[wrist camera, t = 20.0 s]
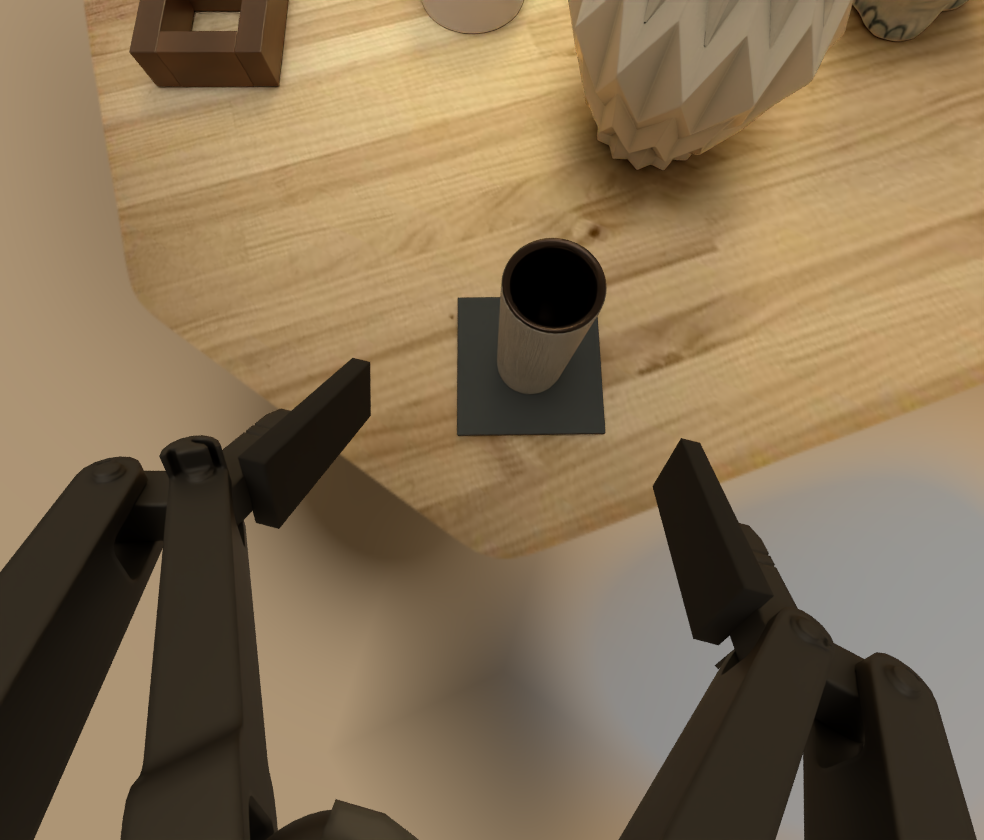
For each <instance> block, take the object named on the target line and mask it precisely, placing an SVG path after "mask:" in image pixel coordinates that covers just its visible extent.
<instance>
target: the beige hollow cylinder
mask: <svg viewBox="0 0 984 840" xmlns="http://www.w3.org/2000/svg"><path fill="white" fill-rule="evenodd" d="M605 297H606V279H605V275H604V272H603V270H602V267H601V266H600V264H599V262H598V261H597V259H596V258H595V257H594V256H593V255H592V254H591V253H590V252H589V251H588V250H587V249H585V248H584V247H582V246H581V245H579V244H577V243H574V242H572V241H569V240H565V239H559V238H545V239H540V240H536V241H533V242H531V243H529V244H527V245H525V246H523V247H522V248H520V249H519V250H518V251H517V252H516V253H515V254H514V255H513V256H512V257H511V258H510V260H509V261H508V263H507V265H506V267H505V269H504V272H503V276H502V282H501V297H500V315H499V332H498V350H497V367H498V371H499V374H500V376H501V378H502V380H503V381H504V382H505V384H506V385H507V386H509V387H510V388H511V389H513V390H515V391H517V392H519V393H523V394H537V393H541V392H543V391H545V390H547V389H549V388H550V387H551V386H552V385H553V384H554V383H555V382H556V381H557V380H558V378H559V377H560V375H561V374H562V372H563V370H564V369H565V367H566V366H567V364H568V362H569V361H570V359H571V357H572V356H573V354H574V353H575V351H576V349H577V348H578V346H579V345H580V343H581V341H582V340H583V338H584V336H585V335H586V333H587V332H588V330H589V328H590V327H591V325H592V324H593V322H594V320H595V319H596V317H597V315H598V314H599V312H600V310H601V308H602V306H603V304H604V301H605Z"/></svg>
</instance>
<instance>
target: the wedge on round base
mask: <svg viewBox="0 0 984 840" xmlns="http://www.w3.org/2000/svg"><path fill="white" fill-rule="evenodd" d="M422 3H423V6H424V8H425V10H426V12H427V13H428V14H429V15H430V17H431V18H432V19H433V20H435V21H436V22H437V23H439V24H440V25H442V26H444V27H445V28H448V29H450V30H453V31H457V32H462V33H483V32H488V31H492V30H495V29H497V28H500V27H502V26H503V25H505V24H507V23H508V22H509V21H511V20H512V19H513V18H514V17H515V16H516V14H517V13H518V12H519V10H520V8H521V6H522V3H523V0H422Z"/></svg>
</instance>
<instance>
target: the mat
mask: <svg viewBox="0 0 984 840" xmlns="http://www.w3.org/2000/svg"><path fill="white" fill-rule="evenodd" d="M499 315H500V297H476V298H458V377H457V435H458V436H466V435H554V434H604V433H605V419H604V405H603V390H602V376H601V361H600V346H599V332H598V317H596V319H595V320H594V322H593V324H592V325H591V327H590V328H589V330H588V332H587V333H586V335H585V336H584V338H583V340H582V341H581V343H580V345H579V346H578V348H577V349H576V351H575V353H574V354H573V356H572V357H571V359H570V361H569V362H568V364H567V366H566V367H565V369H564V370H563V372H562V374H561V375H560V377H559V378H558V380H557V381H556V382H555V383H554V384H553V385H552V386H551V387H550V388H549V389H547V390H545V391H543V392H541V393H537V394H523V393H519V392H517V391H515V390H513V389H511V388H510V387H509V386H507V385H506V384H505V382H504V381H503V380H502V378H501V376H500V374H499V371H498V367H497V350H498V332H499Z"/></svg>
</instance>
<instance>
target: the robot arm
mask: <svg viewBox="0 0 984 840" xmlns="http://www.w3.org/2000/svg"><path fill="white" fill-rule="evenodd" d="M370 416H371V400H370V362H367V361H363V360H359V359H355V358H352V359H351V360H350V361H348V362H347V363H346V364H345V365H344V366H343V367H342V368H340V369H339V370H338V371H337V372H336V373H335V374H333V375H332V376H331V377H330V378H329V379H328V380H326V381H325V382H324V383H323V384H322V385H321V386H320V387H318V388H317V389H316V390H315V391H314V392H313V393H311V394H310V395H309V396H308V397H307V398H306V399H305V400H303V401H302V402H301V403H300V404H299V405H298V406H296V407H295V408H294V409H293V410H292V411H289V410H285V409H279V410H276V411H274V412H272V413H269V414H267V415H265V416H264V417H263V418H261V419H260V420H259V421H258V422H256V423H255V425H254V426H251V427H250V428H249V429H248V430H247V431H246V433H243V434H242V435H240V436H239V437H238V438H237V439H235V440H234V441H233V442H232V443H230V444H229V445H228V446H227V447H225V448H224V449H223V450H222V448H221V445H220V443H219V441H218V440H216V439H214V438H213V437H209V436H203V435H201V436H190V437H186V438H182V439H179V440H177V441H175V442H172V443H170V444H169V445H168V446H166V447H165V448H164V449H163V450H162V452H161V454H160V459H161V461H162V463H163V466H164V468H165V470H166V471H144V470H143V468H142V466H141V464H140V463H139V461H138V460H136V459H134V458H131V457H113V458H107V459H104V460H101V461H98V462H95V463H93V464H91V465H89V466H87V467H85V468H83V469H82V470H81V471H80V472H79V473H78V474H77V475H76V476H75V477H74V479H73V480H72V481H71V482H70V484H69V485H68V486H67V488H66V489H65V490H64V491H63V493H62V494H61V495H60V496H59V498H58V499H57V500H56V502H55V503H54V504H53V505H52V507H51V508H50V509H49V511H48V512H47V513H46V514H45V516H44V517H43V518H42V519H41V521H40V522H39V523H38V525H37V526H36V528H35V529H34V530H33V531H32V532H31V534H30V535H29V536H28V538H27V539H26V540H25V541H24V543H23V544H22V545H21V546H20V548H19V549H18V550H17V551H16V553H15V554H14V555H13V557H12V558H11V559H10V560H9V562H8V563H7V564H6V566H5V567H4V568H3V569H2V571H1V572H0V840H34V838H35V835H36V833H37V831H38V829H39V826H40V824H41V822H42V819H43V817H44V815H45V813H46V810H47V808H48V806H49V804H50V802H51V799H52V797H53V795H54V792H55V790H56V788H57V786H58V783H59V781H60V779H61V777H62V774H63V772H64V770H65V768H66V765H67V763H68V761H69V759H70V756H71V754H72V752H73V750H74V747H75V745H76V743H77V741H78V738H79V736H80V734H81V731H82V729H83V727H84V725H85V722H86V720H87V718H88V716H89V713H90V711H91V709H92V707H93V704H94V702H95V700H96V697H97V695H98V693H99V691H100V689H101V686H102V684H103V682H104V680H105V677H106V675H107V673H108V670H109V668H110V666H111V664H112V661H113V659H114V657H115V655H116V652H117V650H118V648H119V646H120V643H121V641H122V639H123V636H124V634H125V632H126V630H127V628H128V625H129V623H130V621H131V619H132V616H133V614H134V611H135V609H136V607H137V605H138V603H139V600H140V598H141V596H142V594H143V591H144V589H145V587H146V585H147V582H148V580H149V578H150V575H151V573H152V571H153V569H154V567H155V564H156V562H157V560H158V558H159V555H160V553H161V551H162V549H163V552H162V564H161V574H160V585H159V597H158V609H157V619H156V629H155V640H154V651H153V663H152V673H151V684H150V695H149V706H148V718H147V728H146V739H145V751H144V761H143V766H142V771H141V774H140V776H139V778H138V779H137V780H136V781H135V782H134V784H133V785H132V786H131V788H130V791H129V794H128V797H127V799H126V804H125V810H124V815H123V822H122V831H121V840H418V839H417V838H416V837H415V836H413V835H412V834H411V833H409V832H408V831H407V830H406V829H404V828H403V827H402V826H400V825H399V824H398V823H396V822H395V821H394V820H392V819H391V818H390V817H389V816H387V815H386V814H384V813H381V812H378V811H374V810H371V809H367V808H364V807H361V806H357V805H354V804H350V803H347V802H344V801H340V800H337V799H336V800H335V803H334V805H333V808H332V810H326V811H320V812H317V813H314V814H310V815H307V816H305V817H302V818H300V819H298V820H295V821H293V822H291V823H290V824H288V825H286V826H285V827H283V828H281V829H280V830H278V828H277V818H276V808H275V799H274V793H273V787H272V782H271V777H270V773H269V767H268V760H267V750H266V739H265V728H264V718H263V707H262V697H261V686H260V675H259V665H258V655H257V644H256V633H255V623H254V612H253V601H252V590H251V581H250V570H249V559H248V548H247V538H246V527H245V523H244V519H245V518H246V517H247V516H248V515H249V514H250V513H251V512H252V511H253V514H254V517H255V521H256V523H259V524H263V525H266V526H270V527H274V528H278V529H279V528H280V527H281V526H282V525H283V523H284V522H285V521H286V520H287V518H288V517H289V516H290V515H291V513H292V512H293V511H294V510H295V509H296V507H297V506H298V505H299V504H300V502H301V501H302V500H303V498H304V497H305V496H306V495H307V494H308V492H309V491H310V490H311V489H312V488H313V486H314V485H315V484H316V483H317V481H318V480H319V479H320V478H321V476H322V475H323V474H324V473H325V471H326V470H327V469H328V468H329V466H330V465H331V464H332V463H333V461H334V460H335V459H336V458H337V457H338V455H339V454H340V453H341V452H342V450H343V449H344V448H345V447H346V446H347V444H348V443H349V442H350V441H351V439H352V438H353V437H354V436H355V434H356V433H357V432H358V431H359V429H360V428H361V427H362V426H363V425H364V423H365V422H366V421H367V420H368V418H369V417H370ZM653 490H654V494H655V497H656V501H657V505H658V508H659V512H660V516H661V520H662V523H663V527H664V531H665V535H666V538H667V542H668V546H669V550H670V553H671V557H672V561H673V565H674V568H675V572H676V576H677V579H678V583H679V587H680V591H681V594H682V598H683V602H684V606H685V609H686V613H687V617H688V621H689V624H690V628H691V631H692V635H693V639H697V640H700V641H704V642H708V643H712V644H715V645H719V644H720V643H722V642H723V641H724V640H725V639H726V638H727V637H728V636H730V637H731V640H732V643H733V646H734V650H733V651H732V652H730V653H729V654H728V655H727V656H726V657H724V658H723V659H722V660H721V661H720V662H718V663H717V664H716V665H715V666H716V667H717V668H718V669H719V668H720V669H719V671H718V672H717V674H716V676H715V677H714V679H713V681H712V682H711V684H710V686H709V688H708V689H707V691H706V693H705V695H704V696H703V698H702V700H701V701H700V703H699V705H698V706H697V708H696V710H695V711H694V713H693V715H692V717H691V718H690V720H689V721H688V723H687V725H686V727H685V728H684V730H683V732H682V733H681V735H680V737H679V738H678V740H677V742H676V743H675V745H674V747H673V748H672V750H671V752H670V754H669V755H668V757H667V759H666V760H665V762H664V764H663V766H662V767H661V769H660V771H659V772H658V774H657V776H656V777H655V779H654V781H653V782H652V784H651V786H650V787H649V789H648V791H647V793H646V794H645V796H644V798H643V799H642V801H641V803H640V804H639V806H638V808H637V810H636V811H635V813H634V815H633V816H632V818H631V820H630V821H629V823H628V825H627V826H626V828H625V830H624V832H623V833H622V835H621V837H620V838H619V840H775V839H776V836H777V833H778V829H779V826H780V823H781V820H782V817H783V814H784V811H785V808H786V805H787V801H788V798H789V795H790V792H791V789H792V786H793V783H794V780H795V777H796V774H797V770H798V767H799V764H800V761H801V758H802V755H803V761H804V762H803V763H804V764H803V767H804V768H803V770H804V840H977V839H976V836H975V832H974V829H973V825H972V822H971V819H970V815H969V811H968V808H967V805H966V801H965V798H964V794H963V791H962V788H961V784H960V781H959V777H958V774H957V770H956V767H955V764H954V760H953V757H952V753H951V750H950V746H949V743H948V739H947V736H946V733H945V729H944V726H943V722H942V719H941V715H940V712H939V709H938V705H937V702H936V700H935V698H934V696H933V693H932V691H931V690H930V689H929V687H928V686H927V685H926V684H925V682H924V681H923V680H922V679H921V678H920V677H919V676H918V675H917V674H916V673H915V672H914V671H913V670H912V669H911V668H910V667H908V666H907V665H905V664H904V663H902V662H901V661H899V660H898V659H896V658H894V657H892V656H890V655H888V654H885V653H878V652H877V653H874V654H873V655H871V656H869V657H867V658H866V659H863V658H861V657H859V656H857V655H855V654H854V653H852V652H850V651H848V650H846V649H844V648H842V647H840V646H838V645H836V644H834V643H833V641H832V638H831V636H830V635H829V634H828V632H827V631H826V630H825V628H824V627H823V626H822V625H821V624H820V623H819V622H818V621H816V620H815V619H814V618H813V617H812V616H810V615H809V614H807V613H805V612H804V611H802V610H799V609H798V608H797V606H796V604H795V602H794V601H793V599H792V597H791V595H790V593H789V591H788V589H787V587H786V585H785V583H784V582H783V580H782V578H781V576H780V574H779V572H778V570H777V568H776V567H774V565H775V564H774V563H773V561H772V559H771V557H770V556H768V551H767V549H766V547H765V545H764V543H763V542H762V540H761V538H760V537H759V536H758V535H757V534H756V533H755V532H754V531H753V530H752V529H751V527H750V526H748V525H745V524H741V523H739V522H738V520H737V518H736V516H735V514H734V512H733V510H732V508H731V506H730V504H729V502H728V500H727V498H726V496H725V493H724V491H723V489H722V487H721V485H720V483H719V481H718V479H717V477H716V475H715V473H714V471H713V469H712V467H711V465H710V463H709V460H708V458H707V456H706V454H705V452H704V450H703V448H702V446H701V444H700V443H698V442H694V441H690V440H686V439H682V438H681V439H680V441H679V443H678V444H677V446H676V448H675V450H674V451H673V453H672V455H671V456H670V458H669V460H668V461H667V463H666V465H665V466H664V468H663V470H662V471H661V473H660V475H659V476H658V478H657V480H656V481H655V483H654V485H653Z"/></svg>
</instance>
